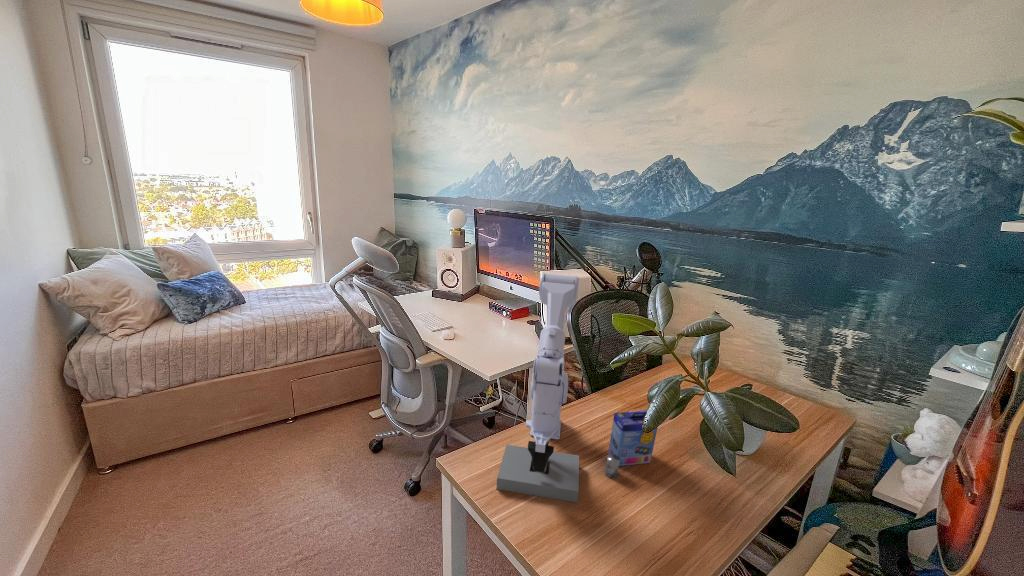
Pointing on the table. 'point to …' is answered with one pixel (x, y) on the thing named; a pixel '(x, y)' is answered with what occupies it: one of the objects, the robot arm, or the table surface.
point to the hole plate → (539, 475)
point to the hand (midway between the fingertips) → (540, 459)
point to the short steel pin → (612, 466)
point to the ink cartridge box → (631, 438)
